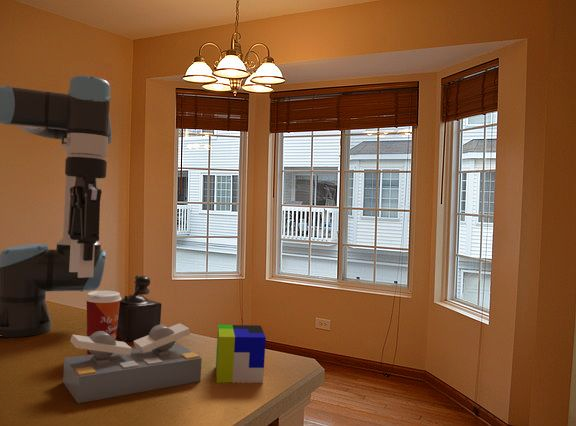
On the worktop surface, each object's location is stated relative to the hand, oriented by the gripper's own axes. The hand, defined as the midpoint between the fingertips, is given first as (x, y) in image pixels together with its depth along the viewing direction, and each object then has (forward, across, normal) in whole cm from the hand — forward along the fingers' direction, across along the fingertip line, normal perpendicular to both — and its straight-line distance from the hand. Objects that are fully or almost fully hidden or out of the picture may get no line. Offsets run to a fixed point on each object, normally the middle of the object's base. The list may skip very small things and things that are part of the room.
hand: (80, 274), depth 100 cm
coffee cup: (+23, -18, +10) cm, 31 cm away
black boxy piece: (+23, -30, +23) cm, 44 cm away
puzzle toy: (+23, +8, +33) cm, 41 cm away
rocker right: (+17, 0, +18) cm, 25 cm away
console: (+23, +2, +11) cm, 26 cm away
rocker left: (+17, 0, +4) cm, 18 cm away
